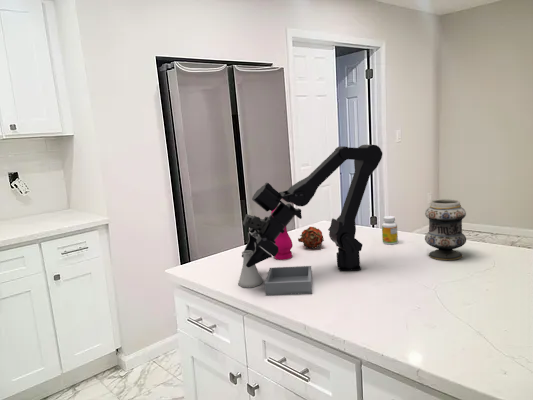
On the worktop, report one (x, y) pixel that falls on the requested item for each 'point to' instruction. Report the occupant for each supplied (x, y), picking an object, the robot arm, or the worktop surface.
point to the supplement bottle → (389, 230)
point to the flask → (249, 273)
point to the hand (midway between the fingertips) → (244, 261)
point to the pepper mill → (283, 245)
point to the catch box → (289, 280)
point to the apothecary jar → (445, 228)
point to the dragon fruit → (311, 237)
